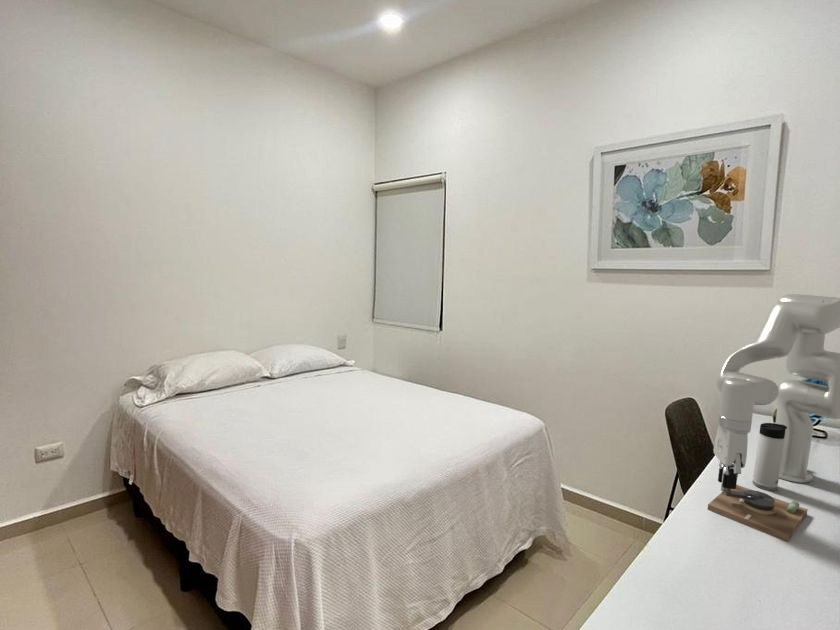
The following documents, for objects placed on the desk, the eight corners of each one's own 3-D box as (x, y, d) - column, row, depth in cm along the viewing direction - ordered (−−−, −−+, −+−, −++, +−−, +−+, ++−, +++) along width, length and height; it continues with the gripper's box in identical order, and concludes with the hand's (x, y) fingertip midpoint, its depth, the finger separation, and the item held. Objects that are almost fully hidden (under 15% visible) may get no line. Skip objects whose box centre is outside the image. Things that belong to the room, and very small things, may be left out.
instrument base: (731, 487, 140) (733, 477, 140) (806, 514, 126) (808, 503, 126) (707, 509, 128) (708, 498, 127) (787, 541, 114) (789, 529, 113)
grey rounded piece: (716, 490, 133) (720, 461, 132) (768, 499, 129) (772, 469, 127) (723, 502, 126) (727, 472, 125) (778, 512, 122) (782, 481, 121)
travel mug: (782, 492, 138) (792, 429, 135) (758, 489, 139) (767, 427, 137) (771, 482, 144) (780, 422, 141) (748, 479, 145) (756, 419, 143)
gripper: (709, 411, 135) (702, 470, 137) (730, 432, 119) (722, 497, 122) (738, 414, 133) (730, 474, 135) (763, 436, 117) (754, 502, 120)
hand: (726, 484), depth 129 cm, fingers open, 2 cm apart
